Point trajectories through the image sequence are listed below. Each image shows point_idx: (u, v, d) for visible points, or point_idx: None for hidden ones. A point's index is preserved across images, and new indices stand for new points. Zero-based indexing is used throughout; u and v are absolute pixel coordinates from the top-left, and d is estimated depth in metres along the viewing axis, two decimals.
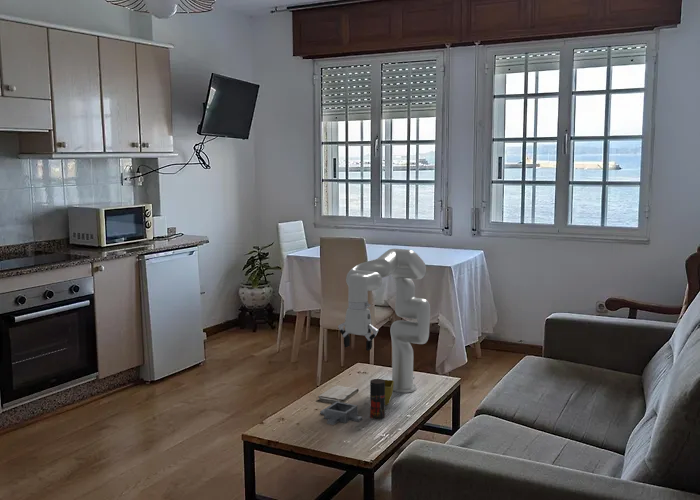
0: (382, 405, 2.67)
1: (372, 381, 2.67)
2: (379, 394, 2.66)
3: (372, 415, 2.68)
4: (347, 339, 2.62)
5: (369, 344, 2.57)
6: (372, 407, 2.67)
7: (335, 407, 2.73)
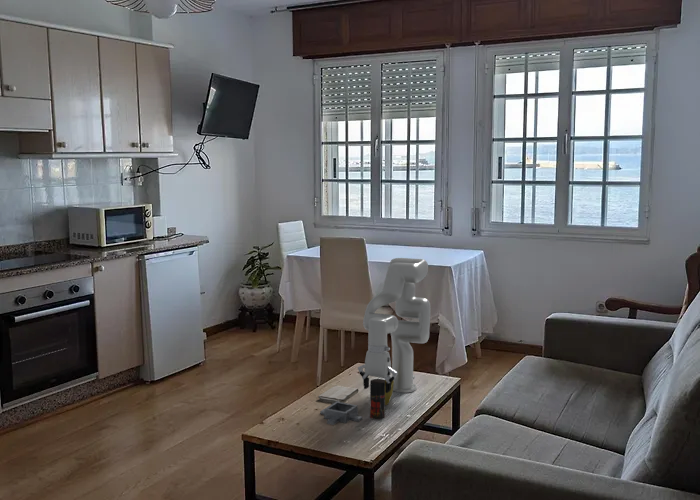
0: (382, 405, 2.67)
1: (372, 381, 2.67)
2: (379, 394, 2.66)
3: (372, 415, 2.68)
4: (366, 381, 2.69)
5: (388, 386, 2.64)
6: (372, 407, 2.67)
7: (335, 407, 2.73)
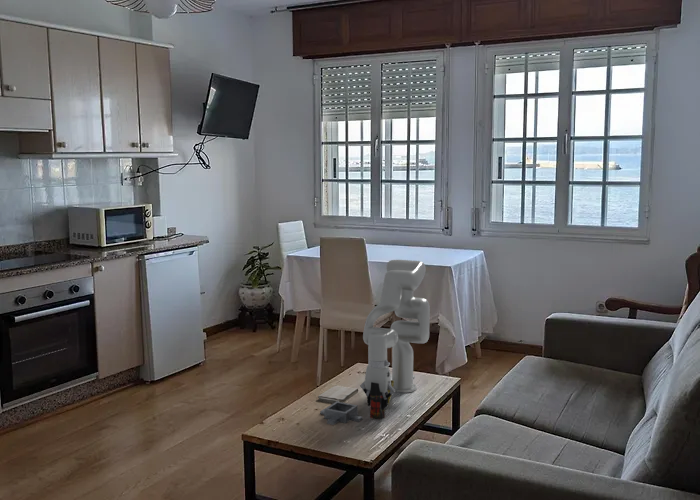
0: None
1: None
2: (379, 394, 2.66)
3: (372, 415, 2.68)
4: None
5: (385, 402, 2.67)
6: (372, 407, 2.67)
7: (335, 407, 2.73)
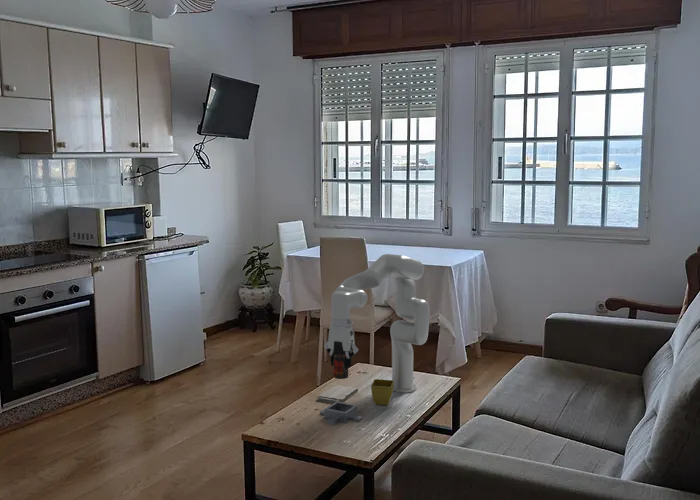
0: (345, 364, 2.65)
1: None
2: (342, 353, 2.64)
3: (335, 375, 2.66)
4: None
5: (348, 362, 2.64)
6: (335, 366, 2.65)
7: (335, 407, 2.73)
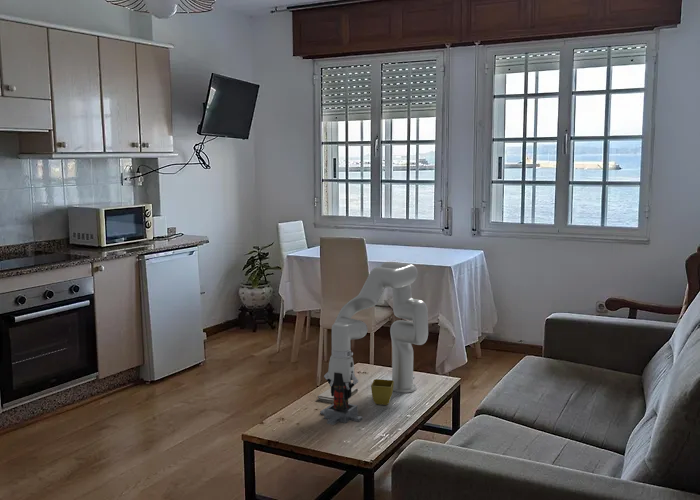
0: (345, 395, 2.67)
1: None
2: (342, 384, 2.65)
3: (335, 405, 2.67)
4: None
5: (348, 393, 2.66)
6: (335, 397, 2.67)
7: None
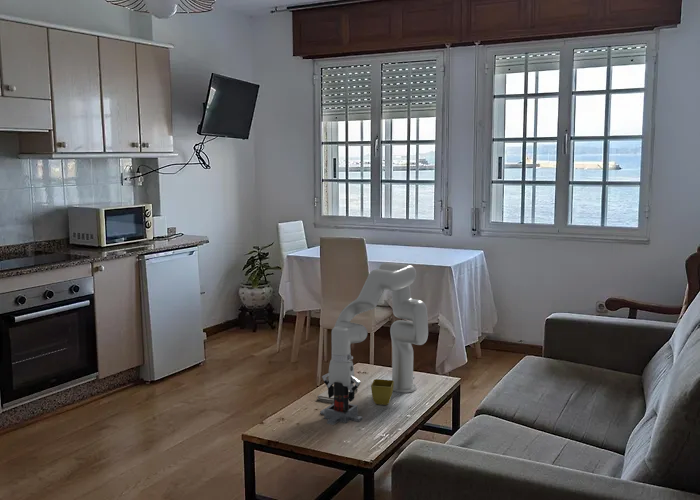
0: (345, 405, 2.67)
1: None
2: (342, 394, 2.66)
3: None
4: (331, 389, 2.70)
5: (351, 395, 2.66)
6: (335, 407, 2.68)
7: None
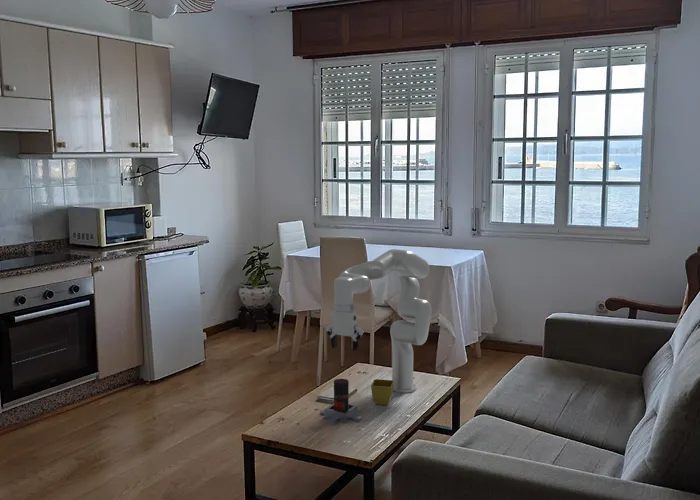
0: (345, 405, 2.67)
1: (335, 381, 2.68)
2: (342, 394, 2.66)
3: None
4: (334, 340, 2.72)
5: (355, 344, 2.67)
6: (335, 407, 2.68)
7: None
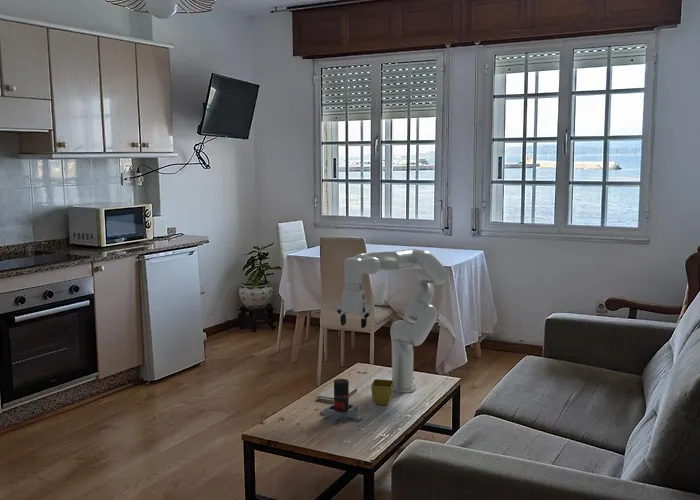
0: (345, 405, 2.67)
1: (335, 381, 2.68)
2: (342, 394, 2.66)
3: None
4: (343, 318, 2.85)
5: (364, 322, 2.80)
6: (335, 407, 2.68)
7: None
